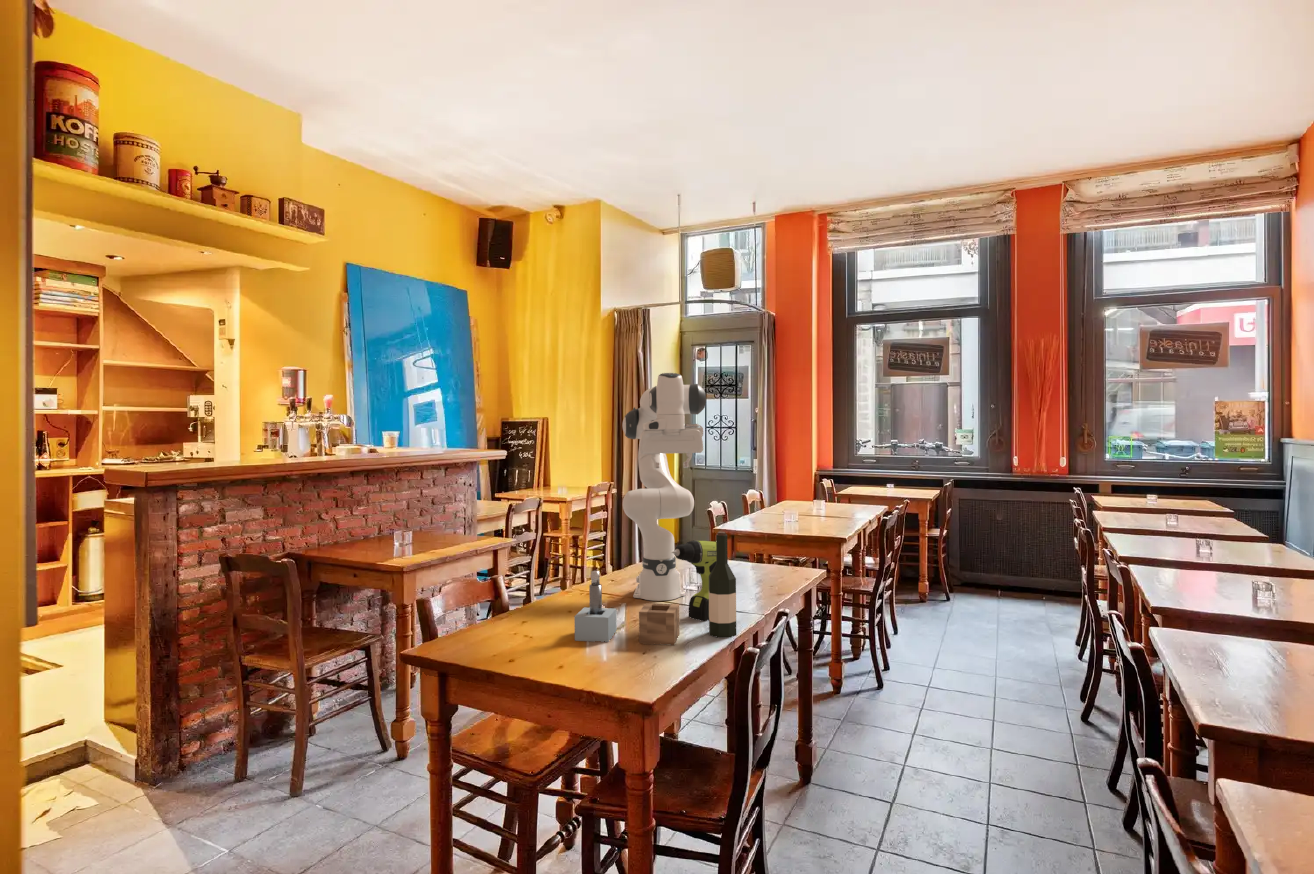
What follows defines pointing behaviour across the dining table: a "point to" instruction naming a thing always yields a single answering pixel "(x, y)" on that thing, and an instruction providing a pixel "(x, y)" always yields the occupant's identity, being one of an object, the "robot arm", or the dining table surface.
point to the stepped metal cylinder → (595, 594)
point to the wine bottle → (722, 593)
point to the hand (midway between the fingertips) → (671, 467)
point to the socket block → (595, 625)
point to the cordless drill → (704, 561)
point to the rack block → (659, 623)
